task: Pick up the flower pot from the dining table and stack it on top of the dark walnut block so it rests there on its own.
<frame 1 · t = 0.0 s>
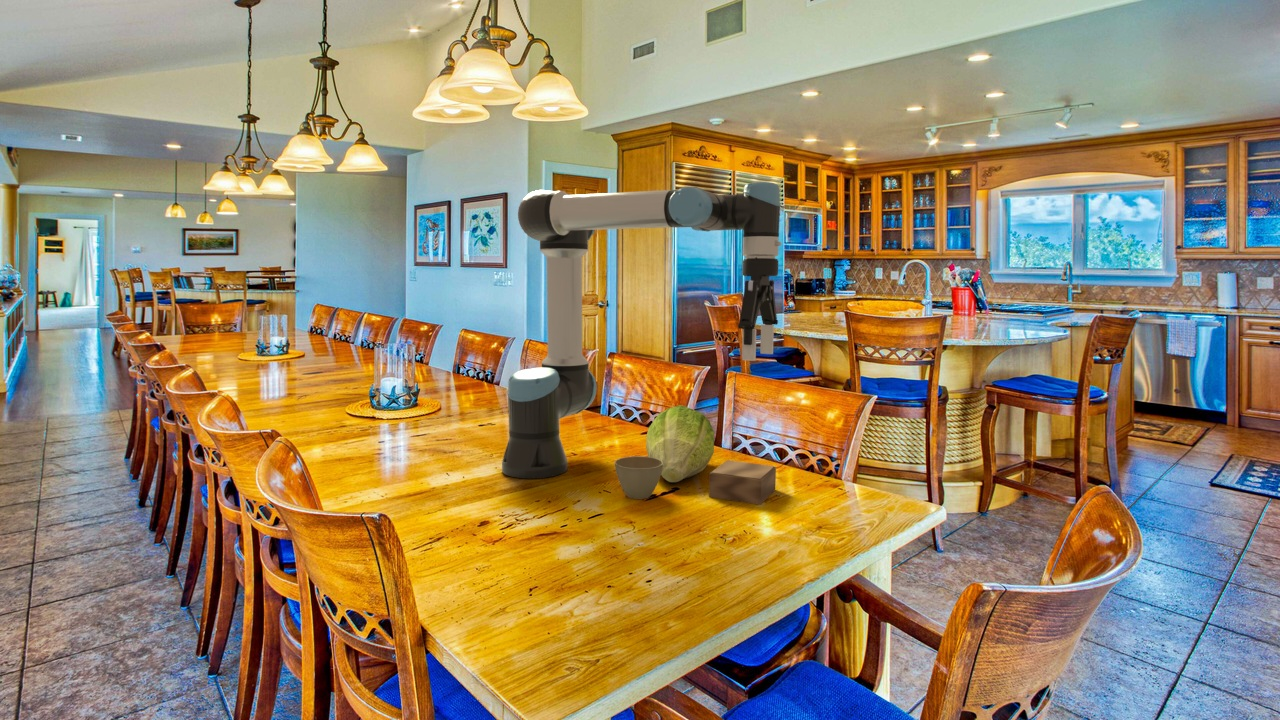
hand: (758, 357, 151), 28 cm above the table, fingers open, 13 cm apart
walnut block: (742, 493, 147), on the table
lettuce: (677, 474, 162), on the table
flower pot: (638, 496, 146), on the table
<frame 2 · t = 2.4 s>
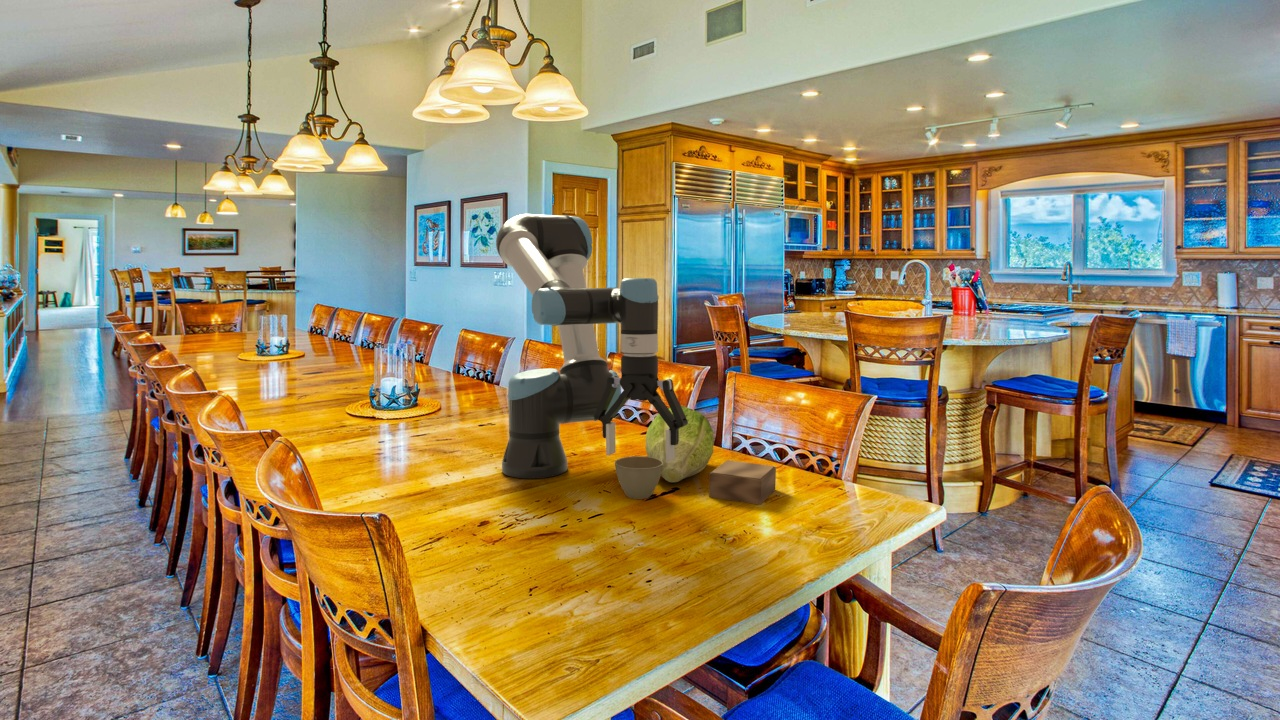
hand: (639, 457, 144), 8 cm above the table, fingers open, 13 cm apart
nothing on the table moved.
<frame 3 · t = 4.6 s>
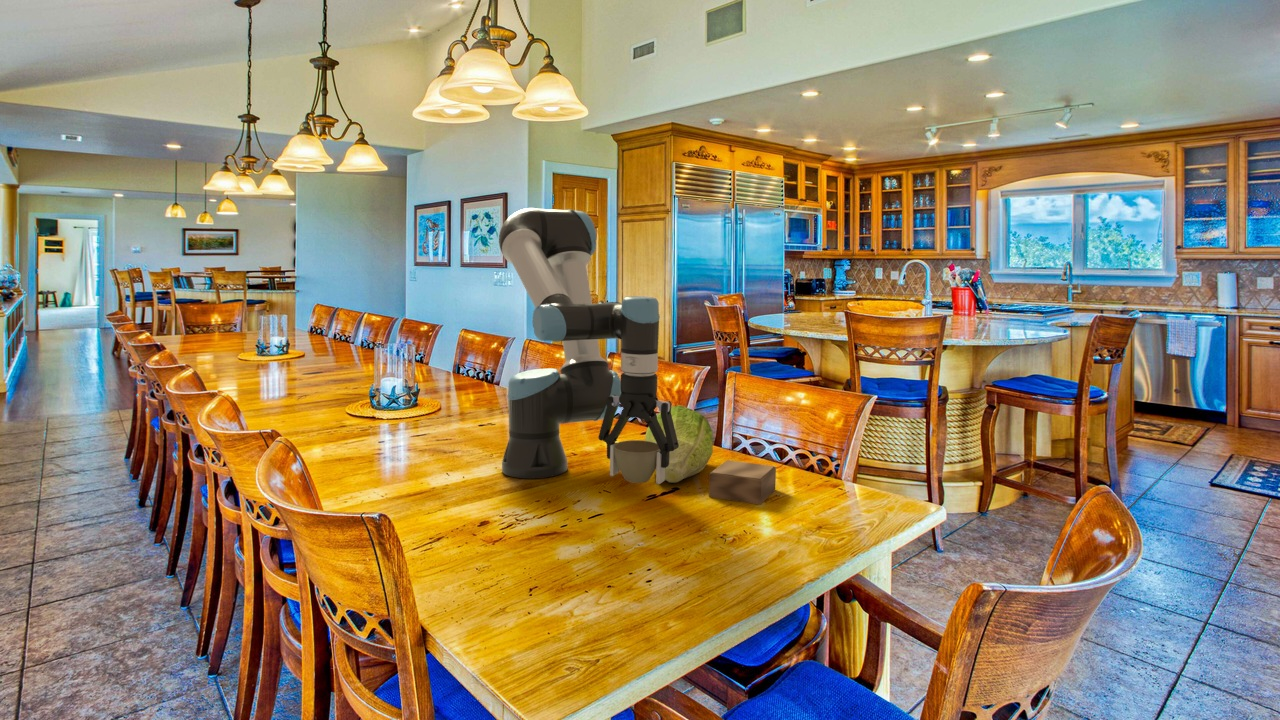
hand: (637, 477, 146), 3 cm above the table, fingers closed on flower pot, 10 cm apart
flower pot: (637, 480, 146), point 3 cm above the table, touching gripper
everything else where it was.
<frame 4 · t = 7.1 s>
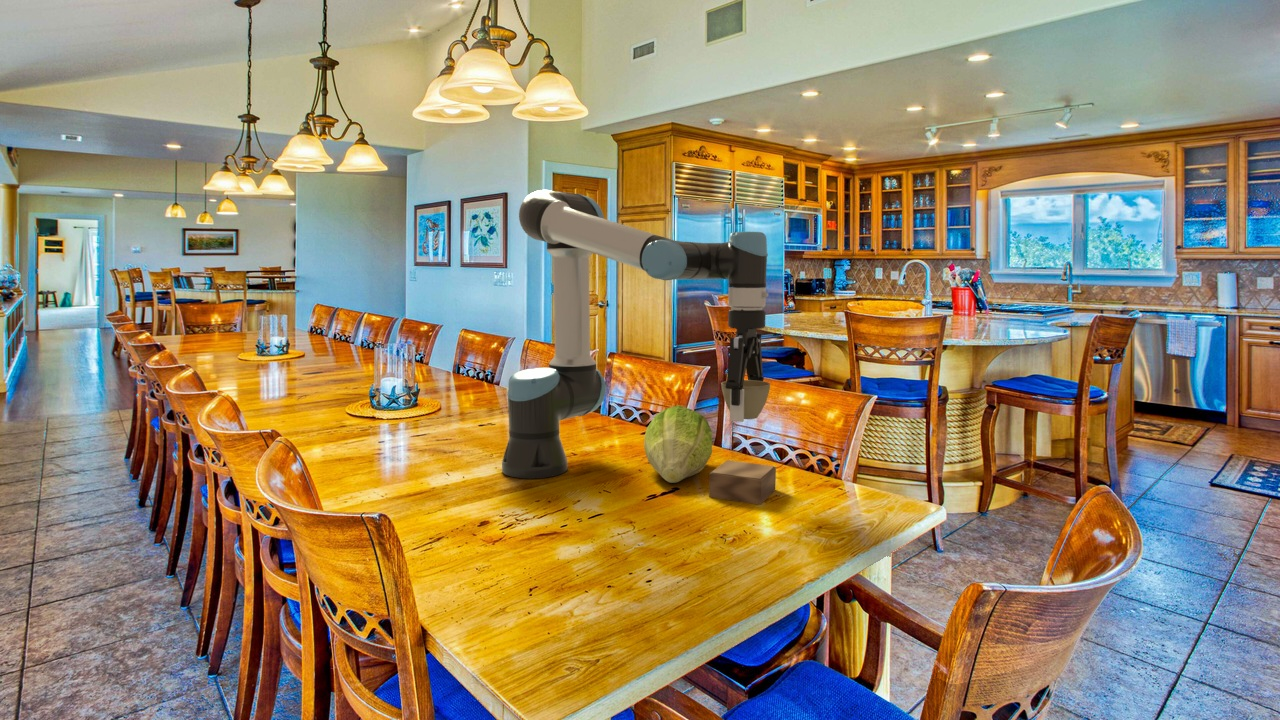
hand: (744, 416, 145), 17 cm above the table, fingers closed on flower pot, 10 cm apart
flower pot: (744, 418, 145), point 16 cm above the table, touching gripper
everything else where it was.
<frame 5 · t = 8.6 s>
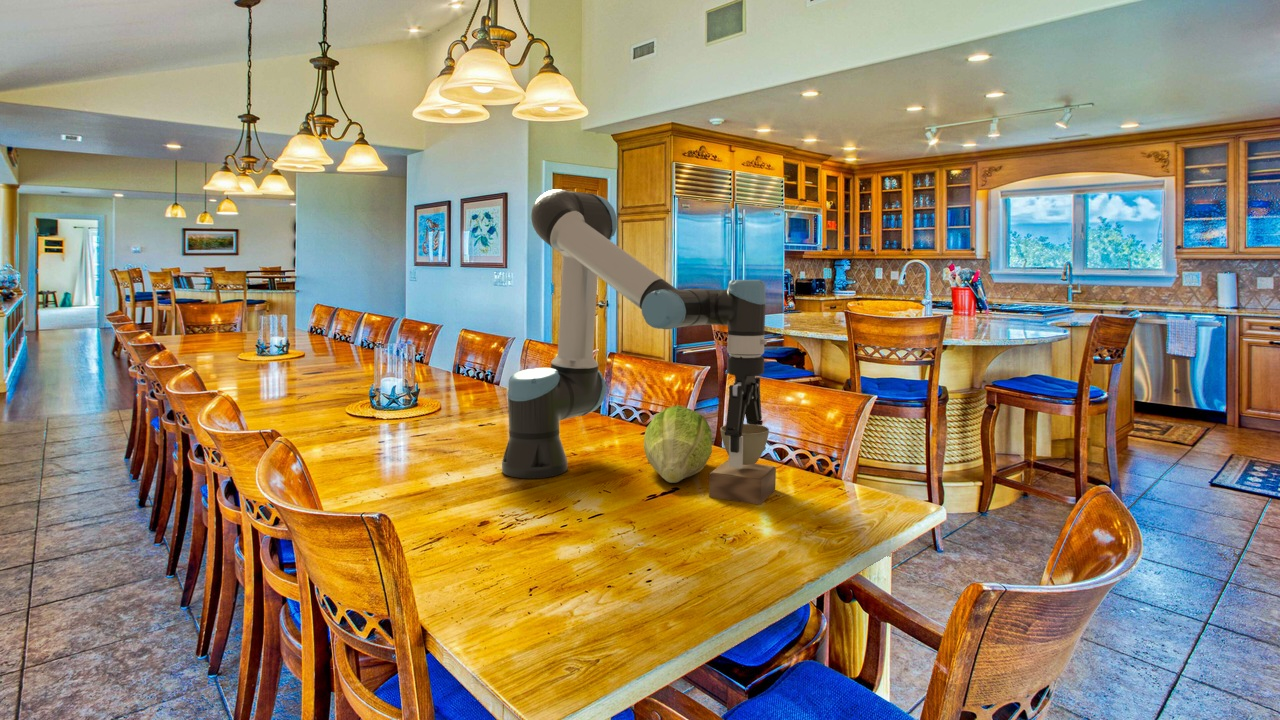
hand: (743, 460, 146), 7 cm above the table, fingers closed on flower pot, 10 cm apart
flower pot: (743, 462, 146), point 7 cm above the table, touching gripper
everything else where it was.
when the fingers open (6 cm above the table, at t = 9.8 s): flower pot stays where it is, resting on walnut block.
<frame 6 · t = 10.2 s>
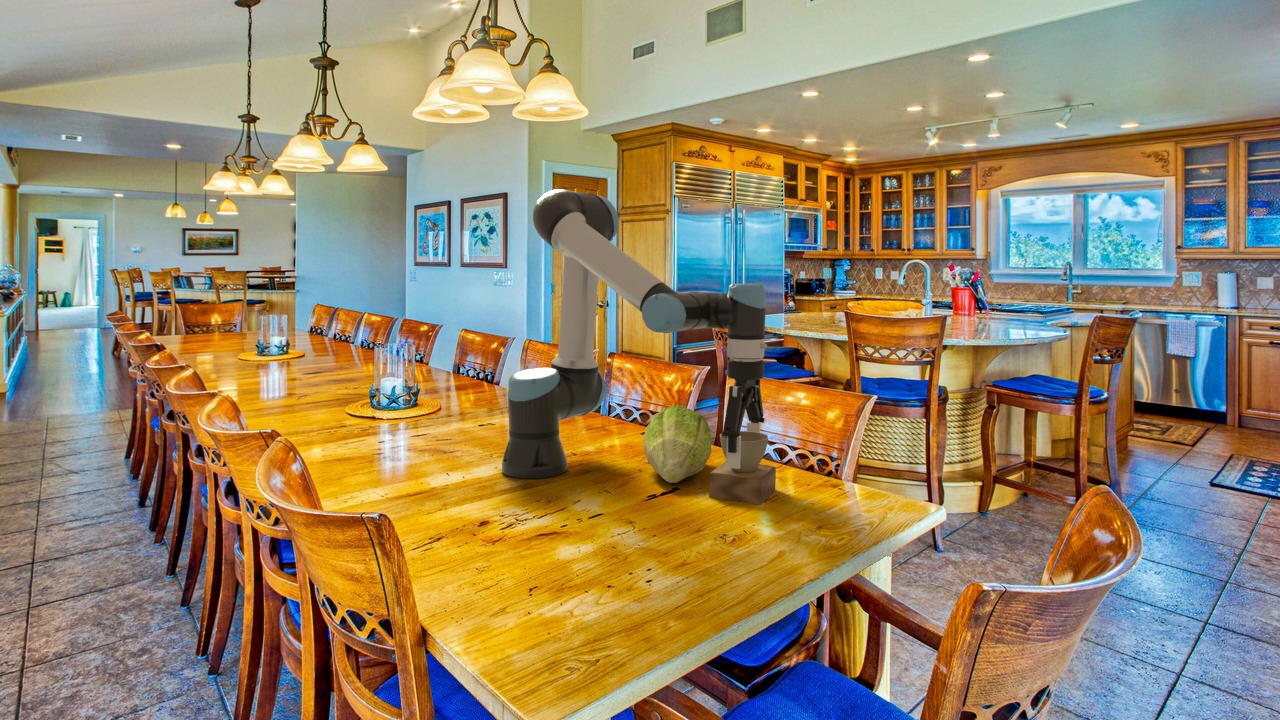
hand: (743, 459, 146), 7 cm above the table, fingers open, 13 cm apart
flower pot: (743, 470, 147), point 5 cm above the table, touching walnut block
everything else where it was.
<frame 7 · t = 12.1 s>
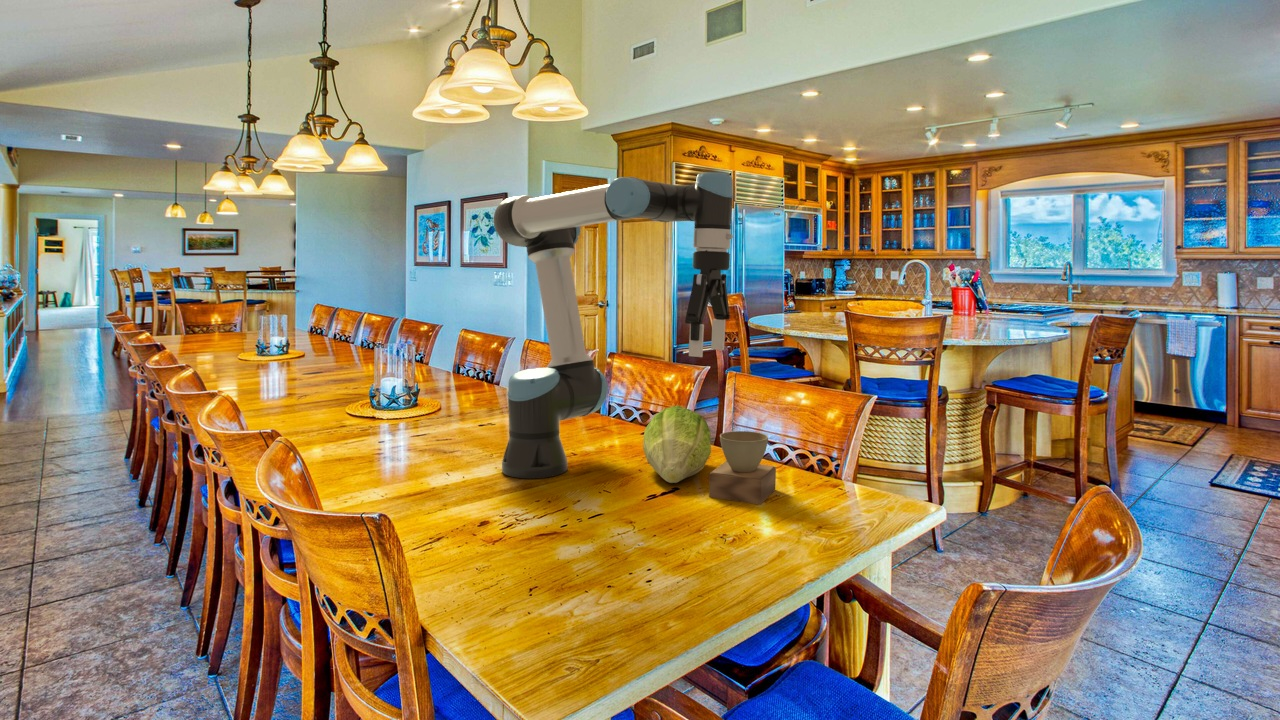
hand: (707, 352, 147), 29 cm above the table, fingers open, 13 cm apart
nothing on the table moved.
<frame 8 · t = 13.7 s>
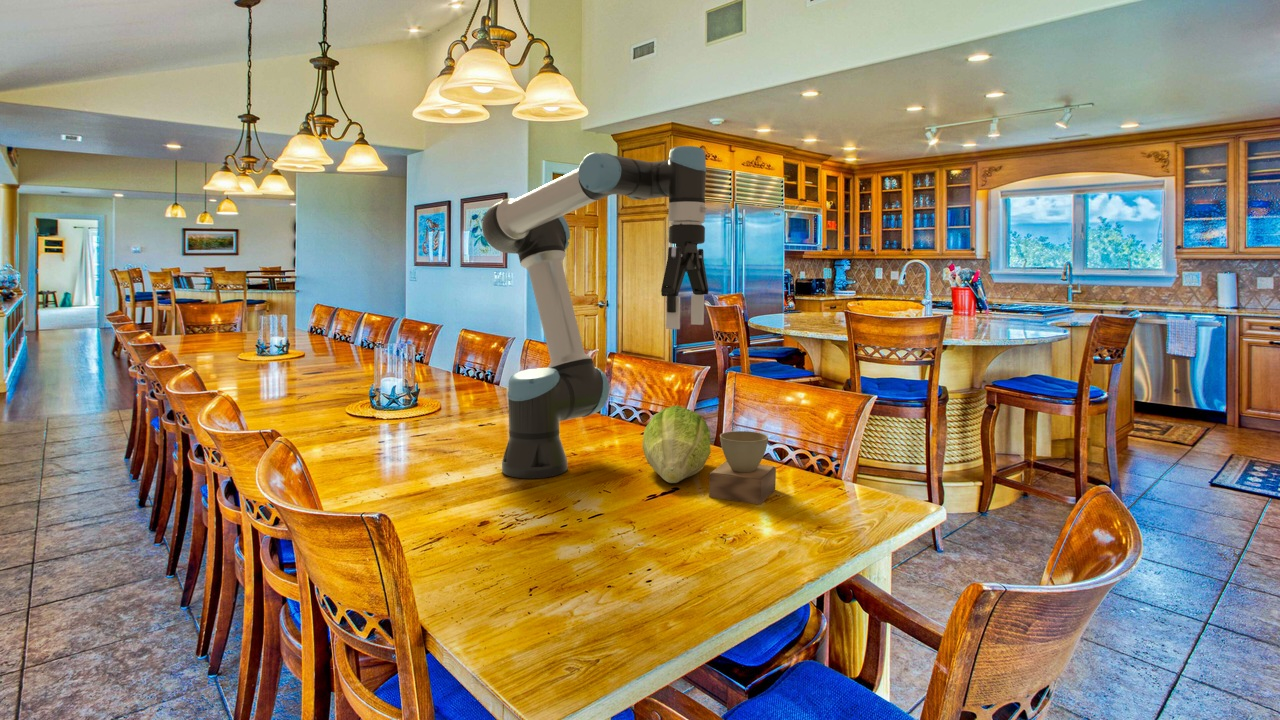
hand: (685, 326, 148), 35 cm above the table, fingers open, 13 cm apart
nothing on the table moved.
at the end: flower pot inside the target area on the walnut block (0.0 cm from its centre), point 5.0 cm above the walnut block's base; flower pot tilted 0°; the gripper is holding nothing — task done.
